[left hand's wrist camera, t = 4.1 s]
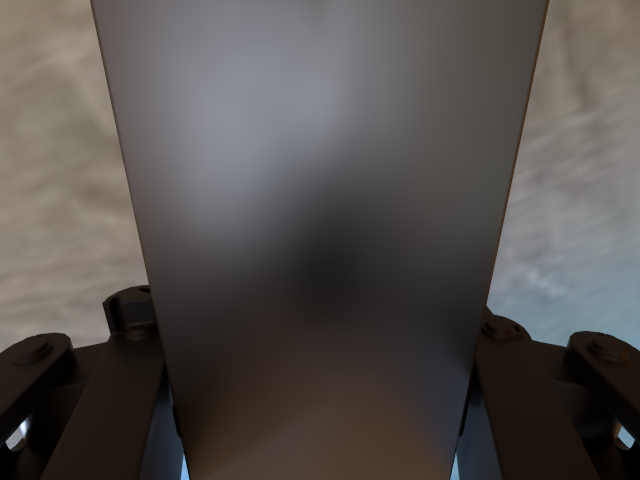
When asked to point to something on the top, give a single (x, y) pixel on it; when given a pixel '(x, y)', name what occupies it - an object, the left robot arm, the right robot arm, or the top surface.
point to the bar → (319, 217)
